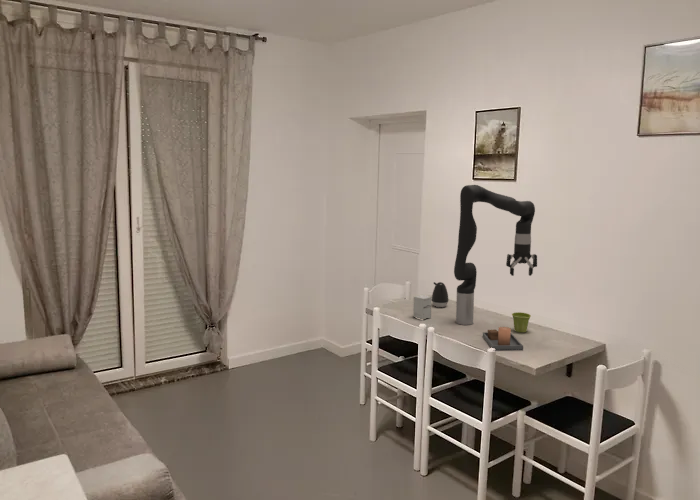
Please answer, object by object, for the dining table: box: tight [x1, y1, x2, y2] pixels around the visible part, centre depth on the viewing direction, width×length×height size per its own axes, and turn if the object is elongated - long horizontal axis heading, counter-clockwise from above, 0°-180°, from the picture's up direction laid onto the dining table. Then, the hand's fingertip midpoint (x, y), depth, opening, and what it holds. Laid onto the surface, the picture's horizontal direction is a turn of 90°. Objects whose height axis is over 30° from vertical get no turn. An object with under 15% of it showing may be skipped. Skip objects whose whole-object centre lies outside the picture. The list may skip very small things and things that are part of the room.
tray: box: [481, 331, 524, 351], centre depth 255 cm, size 20×14×2 cm
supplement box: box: [412, 294, 432, 319], centre depth 297 cm, size 7×7×13 cm
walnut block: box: [487, 329, 498, 340], centre depth 260 cm, size 4×4×4 cm
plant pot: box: [511, 311, 532, 334], centre depth 273 cm, size 9×9×9 cm
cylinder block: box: [497, 326, 512, 345], centre depth 251 cm, size 6×6×8 cm
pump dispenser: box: [431, 281, 449, 308], centre depth 322 cm, size 10×10×15 cm
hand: (521, 275), depth 257 cm, fingers open, 8 cm apart
